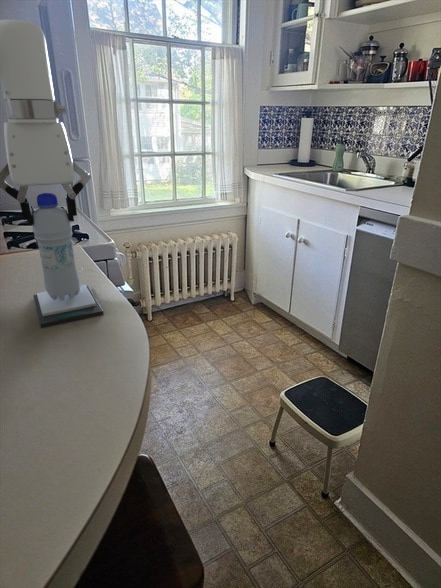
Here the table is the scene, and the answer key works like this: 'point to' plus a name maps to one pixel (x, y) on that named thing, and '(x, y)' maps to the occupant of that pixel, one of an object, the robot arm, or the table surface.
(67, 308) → the scale
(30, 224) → the robot arm
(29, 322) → the table surface
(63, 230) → the bottle
